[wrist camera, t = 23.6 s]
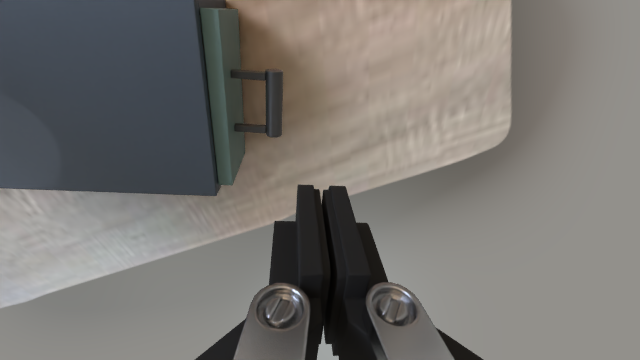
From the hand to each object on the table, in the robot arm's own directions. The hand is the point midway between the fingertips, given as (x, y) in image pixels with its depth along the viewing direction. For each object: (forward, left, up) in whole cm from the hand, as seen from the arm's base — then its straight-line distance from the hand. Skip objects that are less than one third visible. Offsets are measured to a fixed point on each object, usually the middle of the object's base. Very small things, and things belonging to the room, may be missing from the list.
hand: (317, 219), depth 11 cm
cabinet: (-16, -1, -22) cm, 27 cm away
